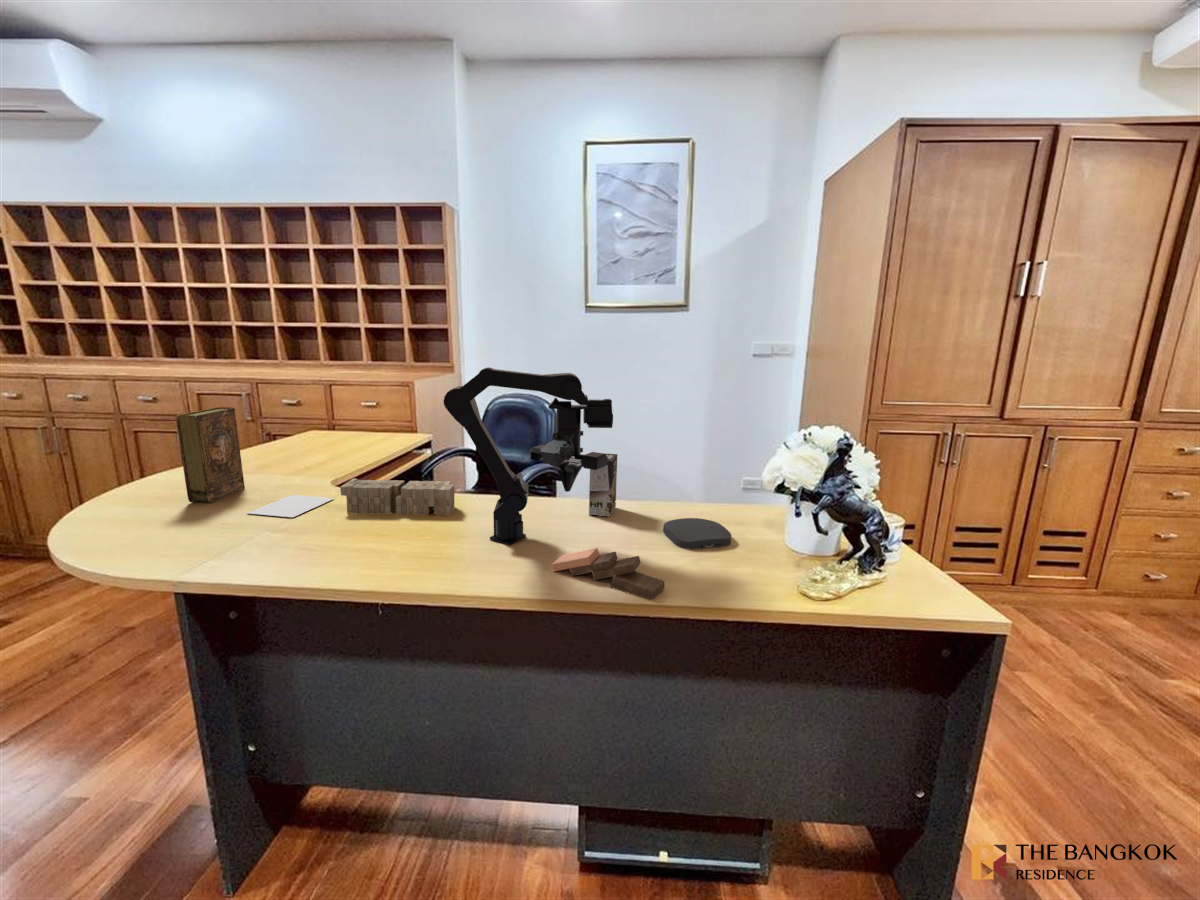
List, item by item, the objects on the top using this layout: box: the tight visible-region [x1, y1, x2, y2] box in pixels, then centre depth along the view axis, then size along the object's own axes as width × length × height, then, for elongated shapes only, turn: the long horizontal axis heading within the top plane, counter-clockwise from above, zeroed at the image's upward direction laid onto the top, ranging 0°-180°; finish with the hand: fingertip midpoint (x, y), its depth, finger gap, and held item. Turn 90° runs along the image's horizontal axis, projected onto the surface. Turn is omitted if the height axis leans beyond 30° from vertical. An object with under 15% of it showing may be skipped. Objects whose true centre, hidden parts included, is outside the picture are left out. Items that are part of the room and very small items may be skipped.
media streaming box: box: [662, 517, 732, 550], centre depth 131 cm, size 15×15×3 cm
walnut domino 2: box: [591, 555, 642, 581], centre depth 107 cm, size 2×5×9 cm
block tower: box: [340, 478, 455, 516], centre depth 145 cm, size 8×8×29 cm
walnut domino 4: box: [612, 570, 666, 599], centre depth 104 cm, size 2×5×9 cm
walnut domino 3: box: [608, 581, 652, 599], centre depth 104 cm, size 2×5×9 cm
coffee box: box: [588, 452, 618, 517], centre depth 147 cm, size 9×6×16 cm
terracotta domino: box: [551, 547, 601, 572], centre depth 111 cm, size 2×5×9 cm
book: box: [175, 406, 246, 504], centre depth 151 cm, size 16×6×25 cm, turn 179°
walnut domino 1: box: [569, 551, 619, 577], centre depth 109 cm, size 2×5×9 cm
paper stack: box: [247, 494, 336, 518], centre depth 141 cm, size 23×25×1 cm
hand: (567, 491), depth 126 cm, fingers closed
